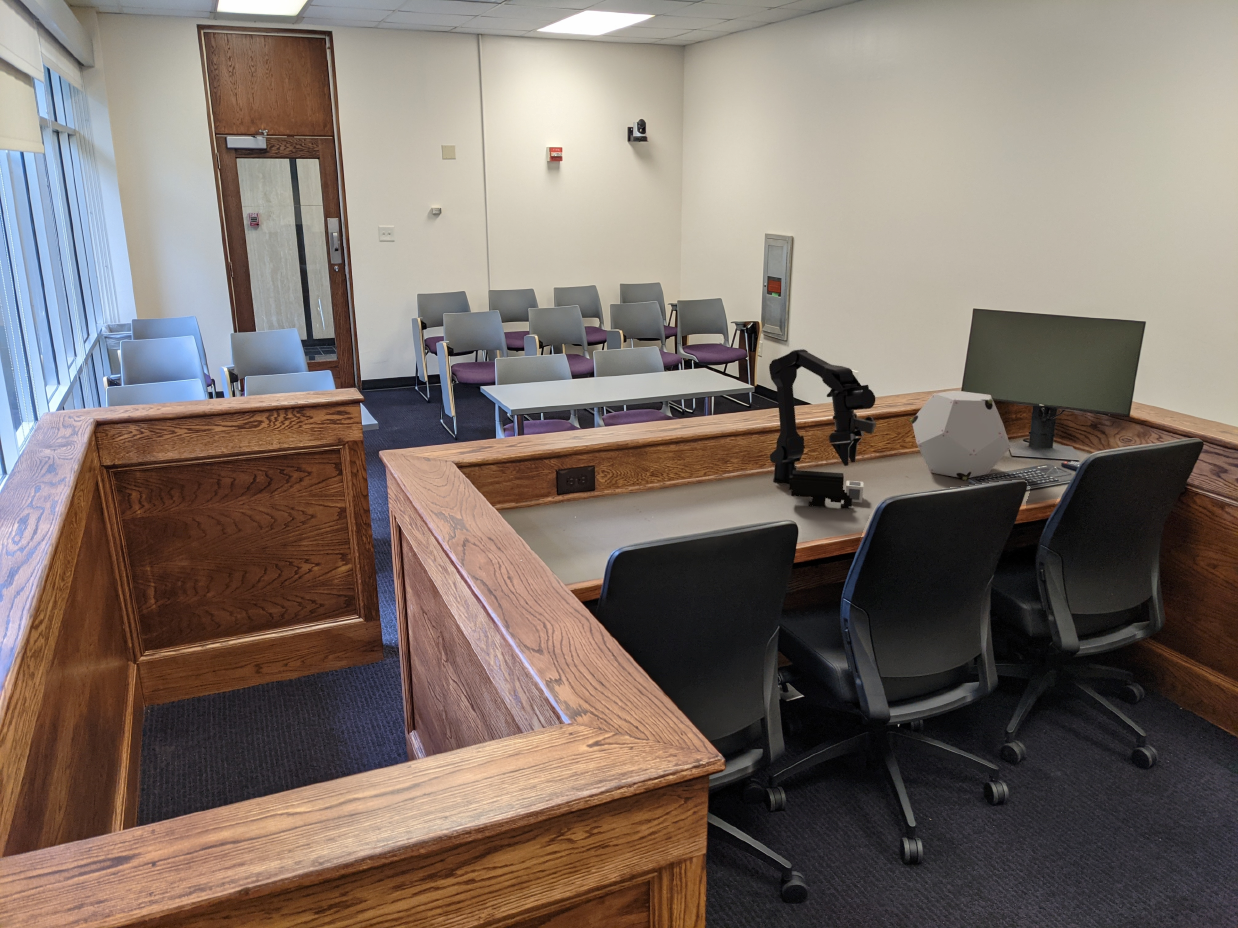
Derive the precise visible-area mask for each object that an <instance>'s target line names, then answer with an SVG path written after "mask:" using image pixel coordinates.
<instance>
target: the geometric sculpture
mask: <svg viewBox="0 0 1238 928" xmlns="http://www.w3.org/2000/svg"><path fill="white" fill-rule="evenodd" d="M909 422H910V423H911V424H912V428H913V432H914V436H915V437H914V438H915V441H916V446H917V447H918V449H919V452H920V454H921V456H922V458H923V460H924V462H925V464H926V466H927V468H928V470H929V472H930V473H932V474H933V473H934V474H938V475H943V476H950V477H954V478H959V479H960V478H961V479H962V480H963V481H967V479H970V478H975V477H980V476H985V475H988V474H989V473H990V472H991V471H992V470H993V468H994V467H996V465H997V464H998V463H999V461H1000V460H1001V459H1002V458H1003V457H1004V456H1005V454H1007V452H1008V451H1009V450H1010V449H1011V448H1012V447H1011V444H1010V441H1009V438H1008V435H1007V432H1006V429H1005V426H1004V423H1003V420H1002V418H1001V416H1000V413H999V411H998V409H997V406H996V403H995V401H994V399H993V397H992V395H991V394H985V393H978V392H968V391H961V390H951V391H943V392H935V393H932V395H931V396H930V397H929V398H928V400H927V401H926V402H925V403H924V405H922V407H921V408H920V409H919V411H918V412H917V413H916V414H915V416H914V417H912V418H910V419H909Z"/></svg>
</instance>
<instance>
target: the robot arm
mask: <svg viewBox="0 0 1238 928" xmlns="http://www.w3.org/2000/svg"><path fill="white" fill-rule="evenodd" d="M768 365H769V366H768V367H769V375H770V379H771V381H772V383H773V384H774V385H775V387H776V393H777V404H778V416H779V417H778V418H779V427H780V428H779V430H780V433H779V435H778V437H777V438H776V439H777V440H776V448H775V450H773V451H772V452H771V453H770V454H769V461H770V463H774V471H773V472H774V473H773V475H774V476H773V480H772V481H773V483H775V482H776V483H785V484H786V483H787V484H789V481H790V475H793V470H798V469H797V467H798V466H797V465H796V463H797V462H800V461H801V458H802V456H803V454H804V452H805V449H806V447H805V437H804V436H803V435H800V434H799V432H798V431H797V423H796V422H797V421H796V410H795V409H796V407H795V396H794V387H793V386H794V384H795V381H796V379H797V376H798V370H799V369H800V368H804V369H805V370H807V371H809V372H811V373H813V374H815V375H816V376H818V377H820V379H821V380H822V383H823V384H824V385H826V386H827V387H828V388H829V389H830V390H829V392H828V393H827V394H826V397H827V398H831V401H832V408H833V415H832V420H834V425H835V426H834V427H835V429H834V432H830V434H829V436H828V440H829V441H828V442H829V444H830V445H831V446H832V447H833V449H834V450H835V452H836V454H837V455H838V458H839V459H840V460H841V462H842V464H843V466H844V467H847V466H849V465H850V464H849V462H850V463H856V459H857V451H858V444H860V441H861V440H862V439H863V437H864V436H865V434H864V433H866V434H870V435H872V434H874V432H875V430H876V427H877V422H876V421H875V420H874V417H872V416H869V415H868V416H866V417H865V418H860V417H858V415H857V413H856V412H855V411H859V410H869V409H871V408H874V405H875V403H876V395H875V393H874V391H873V390H872V389H870V385H869V384H863V385H861V383H860V381H859V380H858V378H857V377H856V376H855V375H854V372H853V370H852V369H851V368H850V367H846V366H843V365H838V364H837V365H835V364H831V363H829V362H827V361H825V360H823V359H822V358H820V357H818V356H816V355H814V354H812V353H810V352H809V351H808V350H807V349H803V348H802V349H801V348H800V349H793V350H791V351H790V352H789V353H787V354H785V355H783V356H781V357H778V358H775V359H774V358H773V359H772V361H771V362H770V363H769V364H768ZM849 460H850V461H849Z"/></svg>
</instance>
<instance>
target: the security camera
mask: <svg viewBox="0 0 1238 928" xmlns="http://www.w3.org/2000/svg"><path fill="white" fill-rule="evenodd" d="M844 478H845V476H844V472H831V471H816V470H814V471H813V470H802V469H801V470H800V469H797V470H793V475H790V481H789V483H788V484H789V485H788V487H789V488H788V491H791V492H790V493H791V494H790V497H802V498H811V501H808V506H809V507H812V508H813V507H814V508H815V507H816V508H817V507H818V508H825V507H826V499H827V500H830V502H831V503H840V509H842V510H843V509H845V510H849V509H850V508H852V507H853V502H852V498H850V495H847V492H846V489H844V482H845V481H844V480H845V479H844ZM842 501H843V502H842Z"/></svg>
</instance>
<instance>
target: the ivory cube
mask: <svg viewBox="0 0 1238 928" xmlns="http://www.w3.org/2000/svg"><path fill="white" fill-rule="evenodd" d="M845 492H847V495H850V498H852V503H854V502H855V503H863V497H864V496H863V495H864V481H857V480H855V481H854V480H846V482H845Z"/></svg>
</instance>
